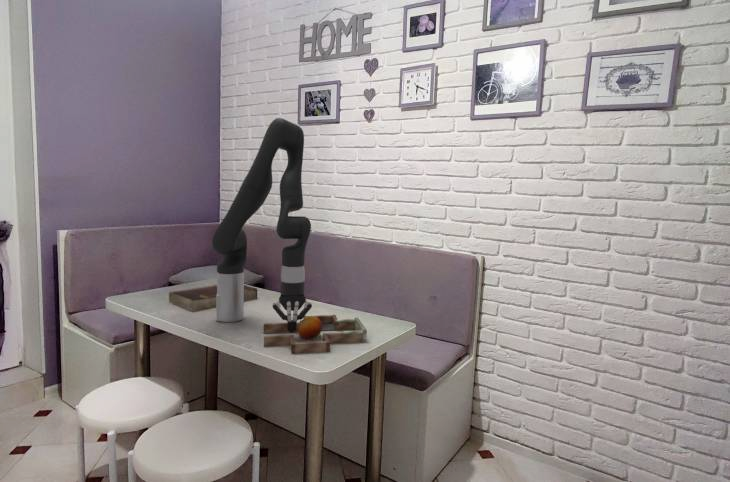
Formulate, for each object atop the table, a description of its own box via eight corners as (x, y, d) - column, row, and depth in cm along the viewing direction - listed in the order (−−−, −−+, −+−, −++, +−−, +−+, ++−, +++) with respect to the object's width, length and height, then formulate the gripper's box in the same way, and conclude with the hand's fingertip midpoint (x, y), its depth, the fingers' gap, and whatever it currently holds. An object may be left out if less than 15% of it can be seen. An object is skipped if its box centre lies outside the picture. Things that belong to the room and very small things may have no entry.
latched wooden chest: (232, 292, 203) (232, 281, 202) (257, 300, 191) (257, 288, 190) (169, 303, 181) (168, 291, 180) (192, 313, 169) (192, 300, 168)
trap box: (264, 355, 130) (264, 342, 129) (263, 325, 156) (263, 314, 156) (371, 350, 137) (372, 337, 136) (353, 322, 163) (353, 311, 163)
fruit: (326, 337, 142) (314, 316, 141) (304, 349, 143) (292, 328, 142) (328, 329, 150) (316, 309, 149) (307, 340, 151) (295, 320, 150)
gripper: (271, 282, 137) (270, 336, 139) (315, 281, 140) (313, 335, 142) (271, 276, 144) (270, 328, 147) (312, 276, 147) (311, 327, 149)
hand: (291, 332), depth 144 cm, fingers closed
